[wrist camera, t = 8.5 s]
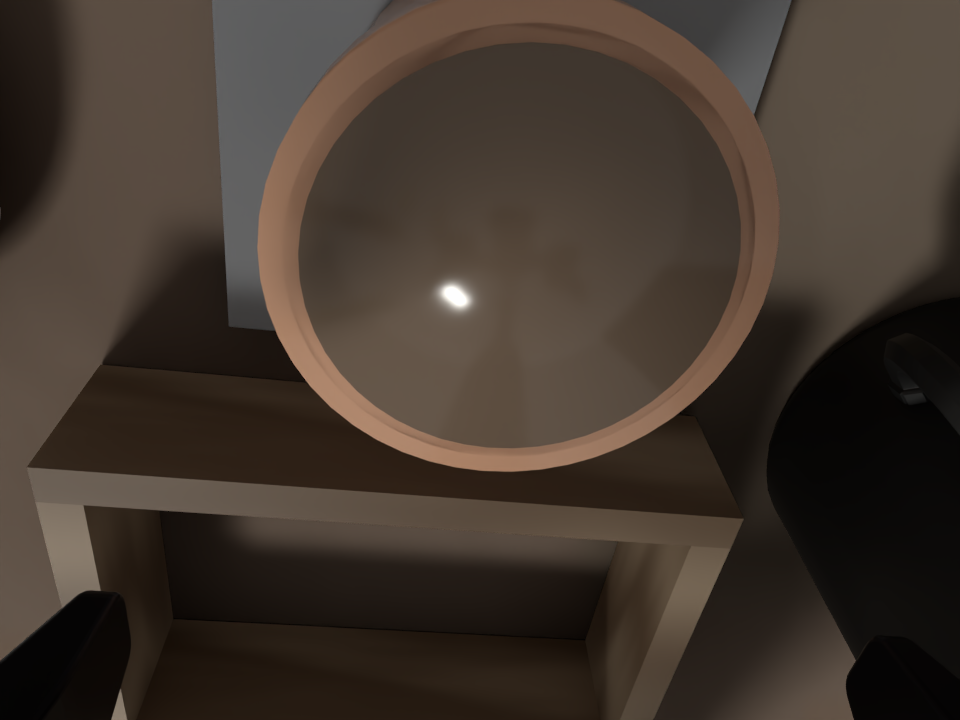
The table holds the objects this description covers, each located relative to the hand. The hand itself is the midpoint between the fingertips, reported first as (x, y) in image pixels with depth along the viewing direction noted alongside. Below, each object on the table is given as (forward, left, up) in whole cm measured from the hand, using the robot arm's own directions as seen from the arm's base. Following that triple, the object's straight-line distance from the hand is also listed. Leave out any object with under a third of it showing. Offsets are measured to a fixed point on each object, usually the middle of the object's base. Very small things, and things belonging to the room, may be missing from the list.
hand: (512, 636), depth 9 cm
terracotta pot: (+3, 0, -10) cm, 10 cm away
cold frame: (-10, +1, -11) cm, 14 cm away
